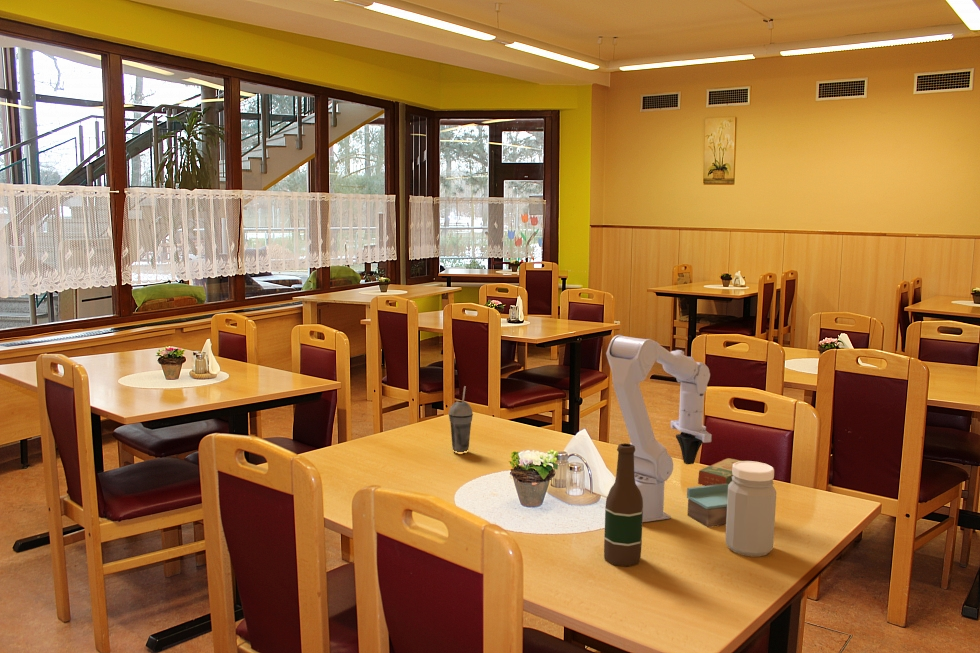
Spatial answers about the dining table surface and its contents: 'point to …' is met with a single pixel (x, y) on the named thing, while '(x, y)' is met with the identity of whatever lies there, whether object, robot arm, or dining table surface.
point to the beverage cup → (460, 424)
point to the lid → (709, 495)
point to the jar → (751, 509)
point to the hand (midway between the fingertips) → (688, 463)
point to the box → (707, 514)
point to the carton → (717, 473)
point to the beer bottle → (624, 513)
